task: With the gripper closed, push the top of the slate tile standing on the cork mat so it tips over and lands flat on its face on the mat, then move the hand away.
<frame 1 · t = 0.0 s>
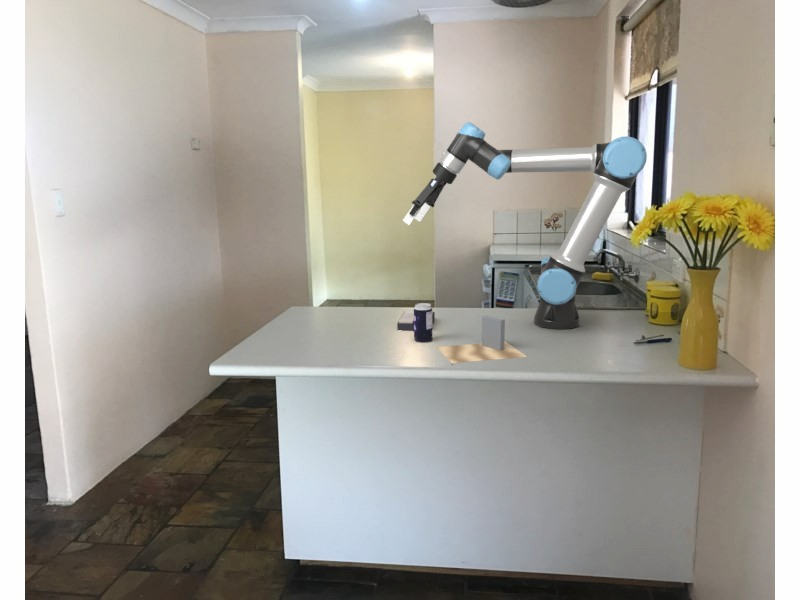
hand: (411, 221, 196), 36 cm above the table, tool tilted 35°, fingers open, 13 cm apart
beverage can: (423, 342, 183), on the table
calculator: (416, 327, 204), on the table
slate tile: (492, 347, 174), point 1 cm above the table, touching cork mat
cork mat: (480, 353, 170), on the table
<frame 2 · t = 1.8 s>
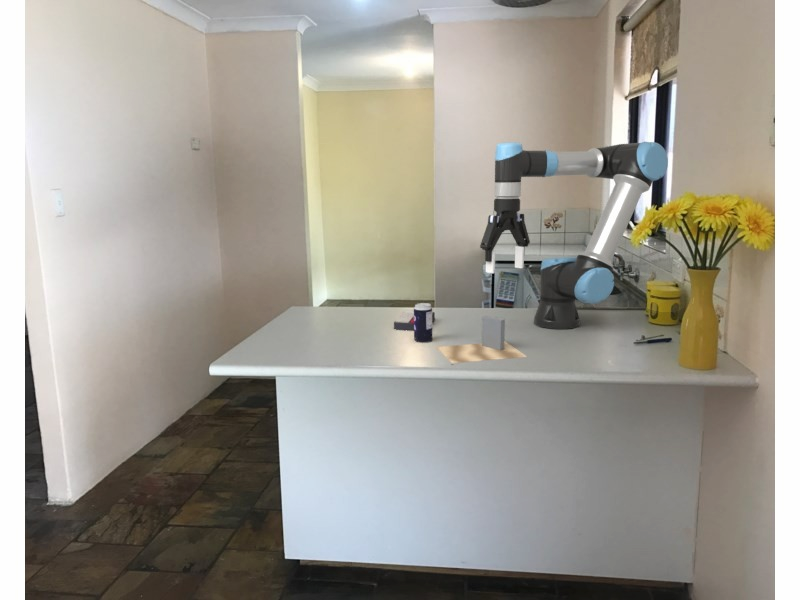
hand: (504, 270, 174), 23 cm above the table, tool pointing down, fingers open, 13 cm apart
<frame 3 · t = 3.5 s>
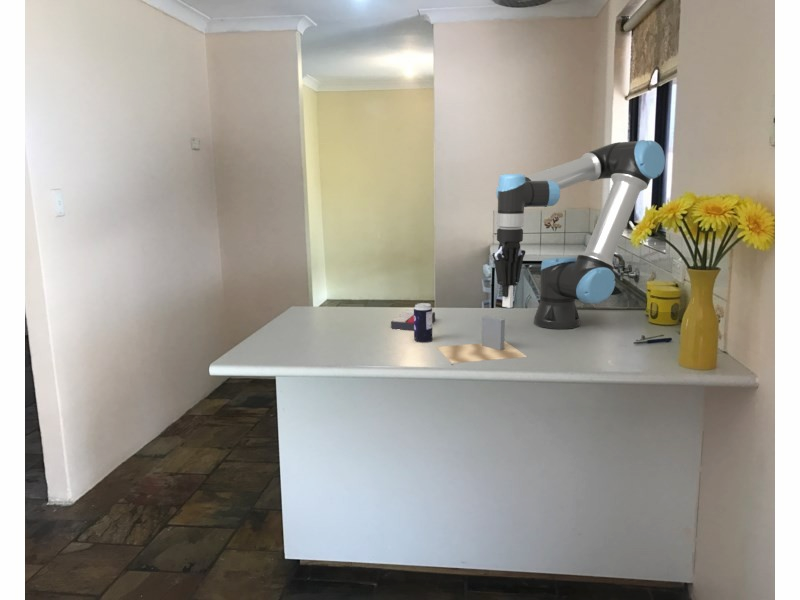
hand: (507, 306, 176), 12 cm above the table, tool pointing down, fingers closed
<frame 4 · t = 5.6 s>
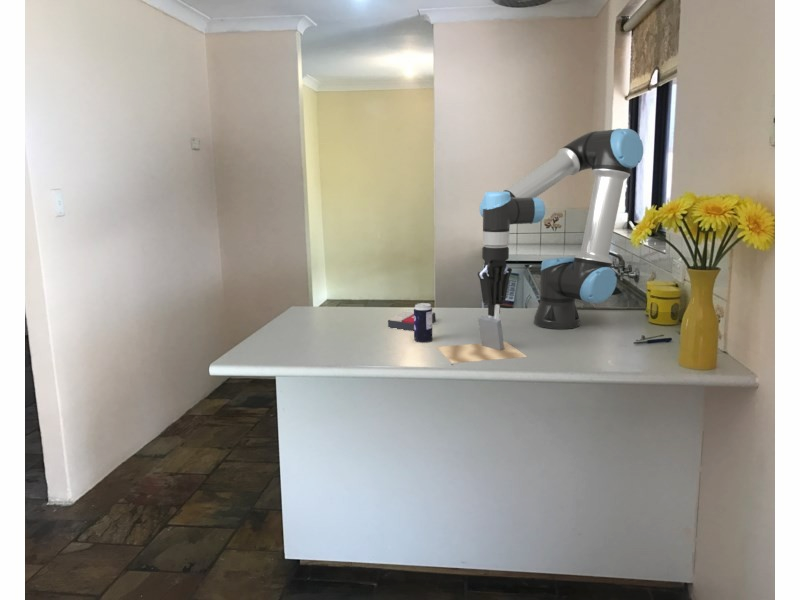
hand: (493, 325, 173), 7 cm above the table, tool pointing down, fingers closed
slate tile: (492, 346, 174), point 1 cm above the table, tilted 12°, touching cork mat
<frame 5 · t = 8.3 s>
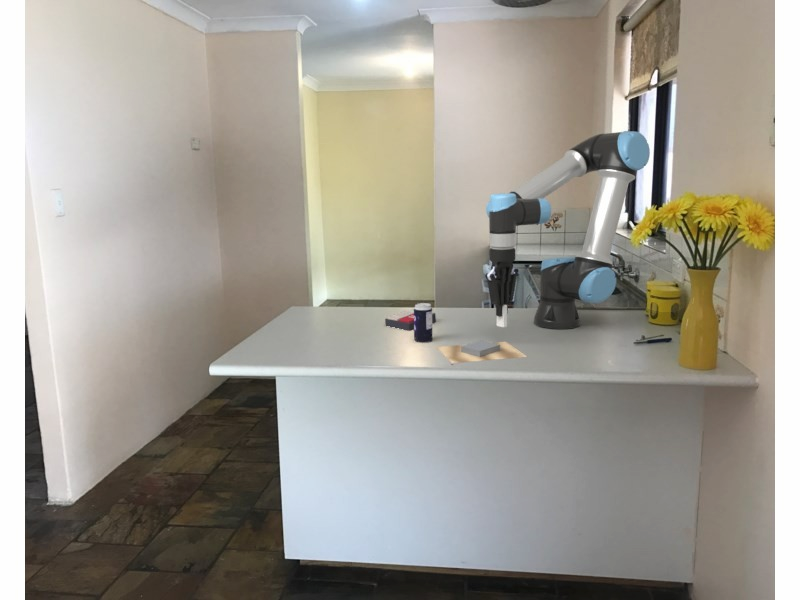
hand: (501, 326, 175), 6 cm above the table, tool pointing down, fingers closed
slate tile: (490, 345, 173), point 1 cm above the table, tilted 90°, touching cork mat
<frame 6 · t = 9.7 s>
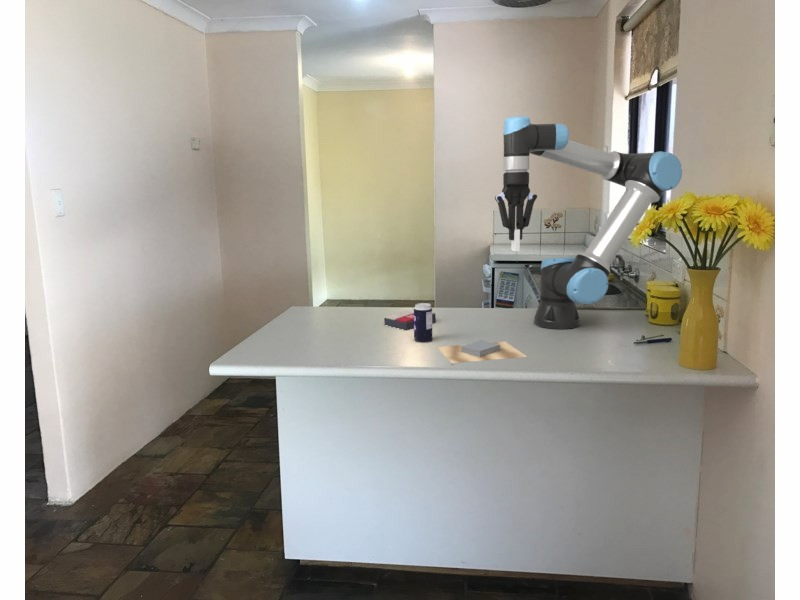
hand: (515, 250, 178), 28 cm above the table, tool pointing down, fingers closed
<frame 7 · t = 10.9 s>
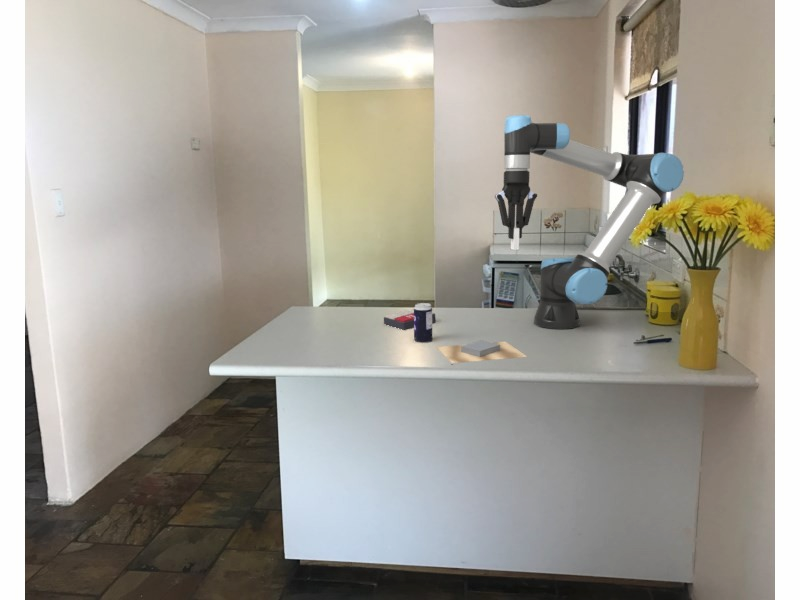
hand: (514, 249, 179), 28 cm above the table, tool pointing down, fingers closed
at the end: slate tile tilted 90°; slate tile inside the target area (4.8 cm from its centre), point 1.5 cm above the table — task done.
